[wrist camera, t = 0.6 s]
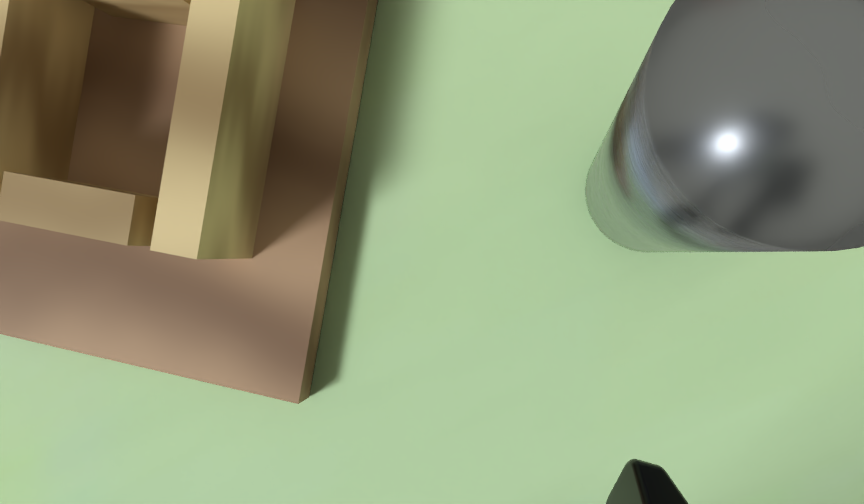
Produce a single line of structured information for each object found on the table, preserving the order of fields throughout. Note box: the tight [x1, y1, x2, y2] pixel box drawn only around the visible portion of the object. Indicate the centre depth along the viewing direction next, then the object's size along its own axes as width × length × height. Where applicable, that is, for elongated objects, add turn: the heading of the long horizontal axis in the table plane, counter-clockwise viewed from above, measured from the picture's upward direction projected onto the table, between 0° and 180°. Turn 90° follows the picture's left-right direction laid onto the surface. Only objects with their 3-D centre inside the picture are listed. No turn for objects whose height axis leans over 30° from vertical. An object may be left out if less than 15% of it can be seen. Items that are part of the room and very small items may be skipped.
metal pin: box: [585, 0, 864, 252], centre depth 14 cm, size 4×4×13 cm
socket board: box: [0, 0, 378, 404], centre depth 21 cm, size 18×14×4 cm
